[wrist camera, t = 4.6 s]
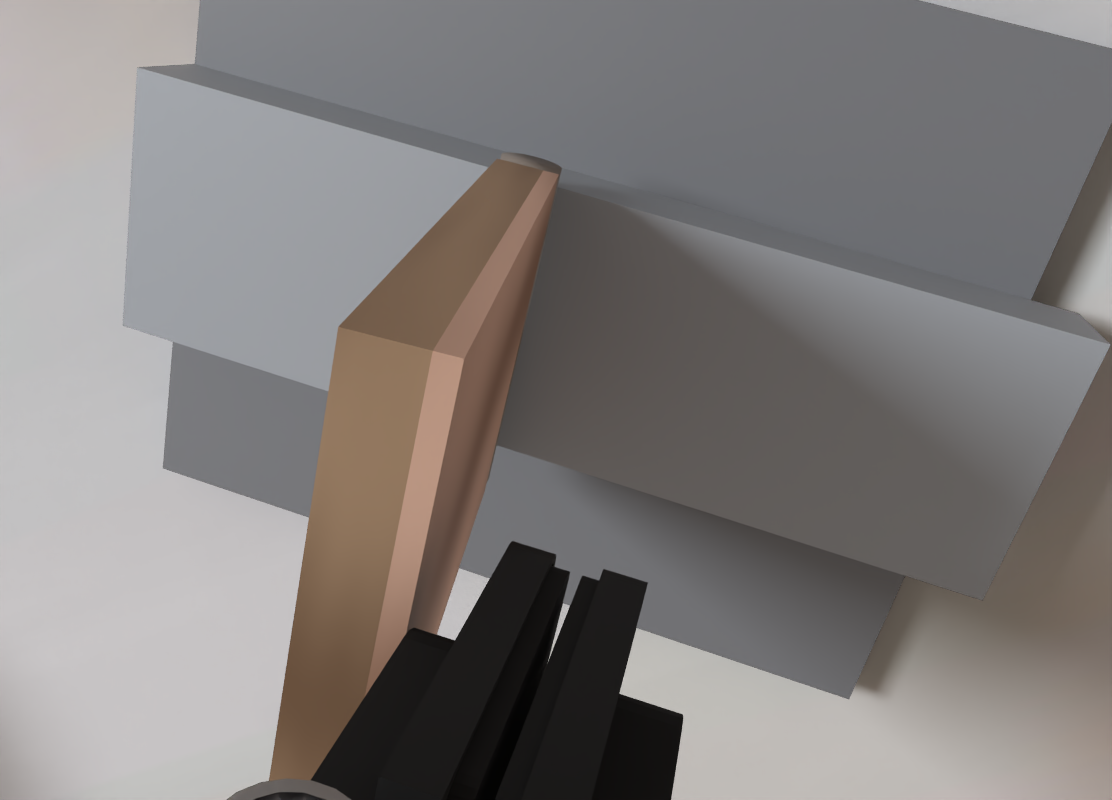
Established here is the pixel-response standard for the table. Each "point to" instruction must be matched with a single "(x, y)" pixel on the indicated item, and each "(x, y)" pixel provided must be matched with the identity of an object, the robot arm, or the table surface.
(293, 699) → the flap
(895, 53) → the grey ridged base plate
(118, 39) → the table surface
